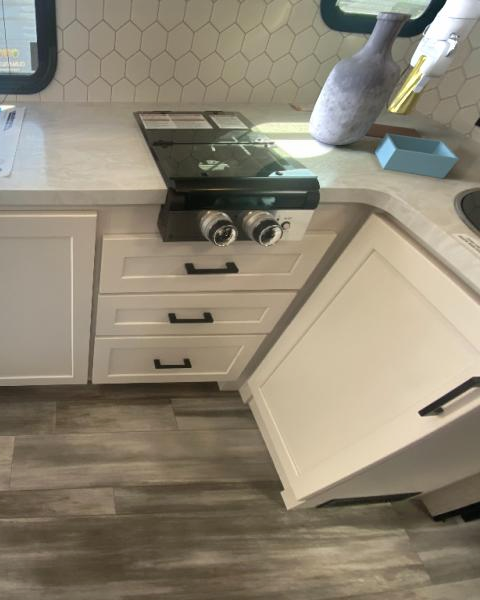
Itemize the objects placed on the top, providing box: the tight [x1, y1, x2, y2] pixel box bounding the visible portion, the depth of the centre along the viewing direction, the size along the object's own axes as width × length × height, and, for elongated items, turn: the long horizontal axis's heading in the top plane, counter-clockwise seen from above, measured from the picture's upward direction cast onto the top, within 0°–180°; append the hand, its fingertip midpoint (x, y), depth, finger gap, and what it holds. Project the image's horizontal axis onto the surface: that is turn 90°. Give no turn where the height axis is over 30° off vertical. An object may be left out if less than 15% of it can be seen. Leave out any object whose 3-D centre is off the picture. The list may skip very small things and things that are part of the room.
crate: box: [374, 133, 459, 179], centre depth 91 cm, size 13×13×5 cm
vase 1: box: [308, 11, 413, 146], centre depth 93 cm, size 16×16×30 cm
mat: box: [364, 123, 423, 139], centre depth 111 cm, size 18×14×1 cm
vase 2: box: [387, 55, 430, 115], centre depth 102 cm, size 6×6×14 cm
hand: (412, 89), depth 103 cm, fingers closed on vase 2, 5 cm apart
